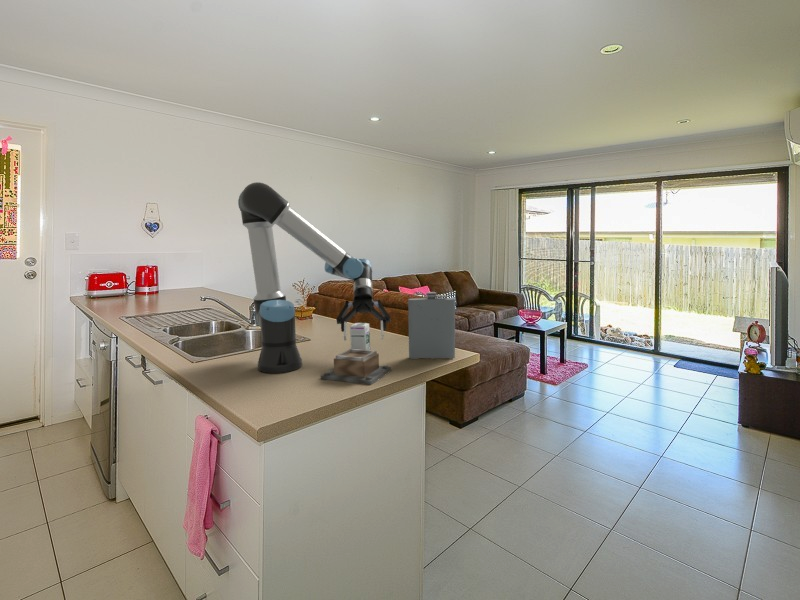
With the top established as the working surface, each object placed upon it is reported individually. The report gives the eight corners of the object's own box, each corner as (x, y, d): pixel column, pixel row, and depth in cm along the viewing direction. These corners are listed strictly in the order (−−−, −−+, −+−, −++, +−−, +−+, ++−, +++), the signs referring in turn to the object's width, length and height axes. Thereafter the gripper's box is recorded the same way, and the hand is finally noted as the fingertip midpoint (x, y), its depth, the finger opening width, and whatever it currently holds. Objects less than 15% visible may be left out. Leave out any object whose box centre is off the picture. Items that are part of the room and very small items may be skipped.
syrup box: (366, 365, 152) (365, 325, 150) (350, 365, 153) (349, 325, 151) (371, 361, 158) (370, 322, 156) (355, 360, 159) (354, 322, 157)
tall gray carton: (454, 355, 164) (454, 291, 161) (455, 358, 160) (455, 292, 156) (409, 355, 165) (408, 291, 162) (408, 359, 160) (408, 292, 157)
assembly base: (320, 378, 137) (319, 357, 136) (344, 365, 152) (344, 346, 151) (371, 384, 131) (370, 361, 130) (391, 370, 146) (390, 349, 145)
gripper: (394, 297, 173) (397, 342, 160) (332, 298, 171) (330, 344, 158) (394, 285, 167) (398, 330, 154) (330, 287, 165) (328, 333, 152)
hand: (363, 337), depth 156 cm, fingers open, 13 cm apart
